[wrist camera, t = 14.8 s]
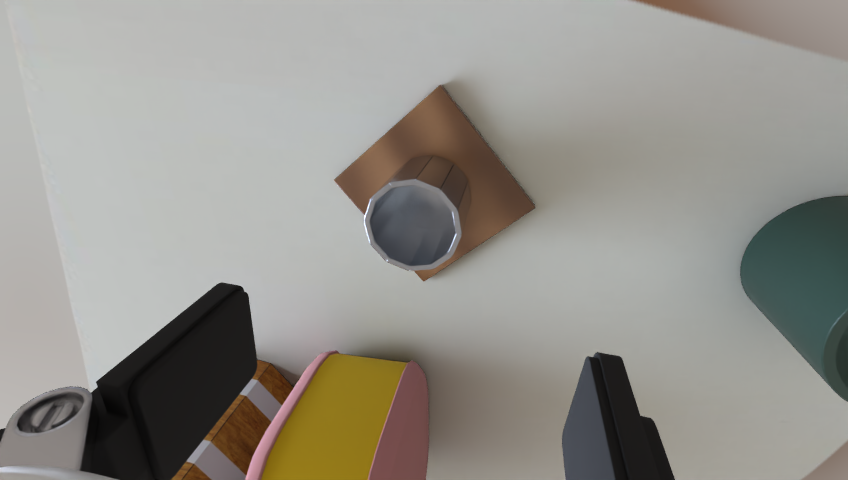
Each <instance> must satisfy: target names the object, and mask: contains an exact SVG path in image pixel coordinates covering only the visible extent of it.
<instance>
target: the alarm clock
mask: <svg viewBox="0 0 848 480" xmlns="http://www.w3.org/2000/svg"><path fill="white" fill-rule="evenodd" d="M428 448H429V398H428V387H427V381H426V376H425V374H424V372H423V370H422V369H421V368H420V366H419V365H418V364H417V363H416V362H414V361H413V360H412V361H410V362H409V363H406V362H399V361H391V360H383V359H376V358H368V357H360V356H353V355H345V354H340V353H339V352H338V351H337V350H335V351H329V352H325V353H321V354H320V355H319V356H318V357H316V358H315V359H314V361H313V362H312V363H311V364H310V365H309V366H308V367H307V368H306V370H305V371H304V373H303V374H302V376H301V377H300V379H299V381H298V382H297V384H296V385H295V387H294V388H293V390H292V391H291V393H290V394H289V396H288V398H287V399H286V401H285V402H284V404H283V405H282V407H281V408H280V410H279V411H278V413H277V415H276V416H275V418H274V419H273V421H272V422H271V424H270V425H269V427H268V428H267V430H266V432H265V434H264V435H263V437H262V439H261V441H260V443H259V445H258V447H257V449H256V451H255V453H254V455H253V457H252V460H251V463H250V466H249V469H248V472H247V475H246V479H245V480H426V473H427V462H428Z"/></svg>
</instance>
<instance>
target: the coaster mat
mask: <svg viewBox="0 0 848 480" xmlns="http://www.w3.org/2000/svg"><path fill="white" fill-rule="evenodd" d="M424 155H435V156H439V157H442V158H445V159H447V160H449V161H451V162H453V163H454V164H455V165H456V166H457V167H459V169H460V170H461V171H462V172H463V174H464V175H465V177H466V178H467V179H468V182H469V187H470V193H471V205H470V208H469V212H468V215H467V219H466V222H465V226H464V229H463V233H462V236H461V238H460V241H459V243H458V245H457V247H456V250H455V252H454V254H453V256H452V257H451V258H449V259H448V260H446V261H445V262H443V263H442V264H440V265H439V266H437V267H436V268H434V269H431V270H417V271H415V273H416V274H417V275H418V276H419V277H420V278H421V279H422V280H423V281H425V280H427V279H428V278H430V277H431V276H433V275H434V274H436V273H438V272H439V271H441V270H442V269H444V268H445V267H447V266H448V265H450V264H451V263H453V262H454V261H456V260H457V259H459V258H460V257H462V256H463V255H465V254H466V253H468V252H469V251H471V250H472V249H474V248H475V247H477V246H478V245H480V244H481V243H483V242H484V241H486V240H488V239H489V238H491V237H492V236H494V235H495V234H497V233H498V232H500V231H501V230H503V229H504V228H506V227H507V226H509V225H510V224H512V223H513V222H515V221H516V220H518V219H519V218H521V217H522V216H524V215H525V214H527V213H528V212H530V211H531V210H533V209H534V208H535V205H534V203H533V202H532V201H531V199H530V198H529V197H528V196H527V194H526V193H525V192H524V190H523V189H522V188H521V186H520V185H519V184H518V183H517V181H516V180H515V179H514V177H513V176H512V175H511V174H510V172H509V171H508V170H507V168H506V167H505V166H504V165H503V163H502V162H501V161H500V159H499V158H498V157H497V156H496V154H495V153H494V152H493V150H492V149H491V148H490V147H489V145H488V144H487V143H486V141H485V140H484V139H483V137H482V136H481V135H480V134H479V132H478V131H477V130H476V128H475V127H474V126H473V125H472V123H471V122H470V121H469V119H468V118H467V117H466V116H465V114H464V113H463V112H462V110H461V109H460V108H459V107H458V105H457V104H456V103H455V101H454V100H453V99H452V97H451V96H450V95H449V94H448V92H447V91H446V90H445V88H444V87H443V86H442V85H439V86H438V87H437V88H436V89H435V90H434V91H433V92H432V93H430V94H429V95H428V96H427V97H426V98H425V99H424V100H423V101H422V102H420V103H419V104H418V105H417V106H416V107H415V108H414V109H413V110H412V111H410V112H409V113H408V114H407V115H406V116H405V117H404V118H403V119H401V120H400V121H399V122H398V123H397V124H396V125H395V126H394V127H393V128H391V129H390V130H389V131H388V132H387V133H386V134H385V135H384V136H383V137H381V138H380V139H379V140H378V141H377V142H376V143H375V144H374V145H373V146H371V147H370V148H369V149H368V150H367V151H366V152H365V153H364V154H362V155H361V156H360V157H359V158H358V159H357V160H356V161H355V162H354V163H352V164H351V165H350V166H349V167H348V168H347V169H346V170H345V171H344V172H342V173H341V174H340V175H339V176H338V177H337V178H336V179H335V180H334V181H335V183H336V184H337V185H338V186H339V187H340V188H341V189H342V190H343V192H344V193H345V194H346V195H347V196H348V197H349V198H350V199H351V201H352V202H353V203H354V204H355V205H356V206H357V207H358V208H359V210H360V211H361V212H362V213H363V214H364V215H366V211H367V208H368V205H369V201H370V199H371V197H372V196H373V195H374V194H375V193H376V192H377V191H378V190H379V189H380V187H381V186H382V185H383V184H384V183H385V182H386V181H387V180H388V179H389V178H390V177H391V176H392V175H393V174H394V173H395V172H396V171H397V170H398V169H399V168H400V167H401V166H403V165H404V164H405V163H406V162H407V161H409V160H410V159H411V158H414V157H419V156H424Z"/></svg>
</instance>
